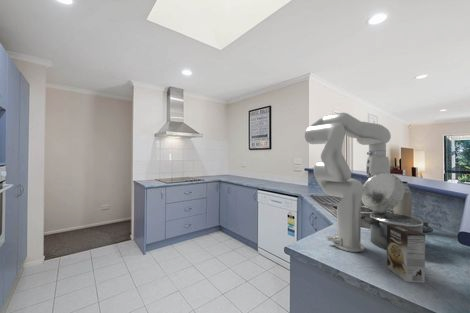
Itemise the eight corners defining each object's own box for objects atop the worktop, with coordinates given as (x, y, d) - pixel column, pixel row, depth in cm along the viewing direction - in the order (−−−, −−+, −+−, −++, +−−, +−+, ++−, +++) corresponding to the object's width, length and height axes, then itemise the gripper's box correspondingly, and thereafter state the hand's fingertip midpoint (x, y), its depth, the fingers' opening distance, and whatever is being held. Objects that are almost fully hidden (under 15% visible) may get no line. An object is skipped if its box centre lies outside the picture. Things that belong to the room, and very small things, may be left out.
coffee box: (385, 267, 74) (385, 224, 74) (403, 267, 74) (403, 224, 74) (406, 282, 65) (405, 233, 65) (426, 283, 65) (426, 233, 65)
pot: (381, 254, 85) (381, 224, 85) (355, 236, 104) (355, 211, 104) (444, 256, 83) (443, 225, 84) (406, 237, 103) (406, 213, 103)
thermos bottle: (412, 229, 115) (412, 181, 116) (409, 232, 110) (409, 182, 111) (395, 226, 121) (395, 180, 122) (391, 228, 116) (391, 181, 117)
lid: (408, 174, 99) (402, 171, 103) (365, 173, 100) (361, 171, 104) (400, 213, 104) (395, 210, 108) (359, 212, 105) (355, 209, 109)
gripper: (367, 154, 103) (368, 189, 103) (397, 153, 103) (397, 189, 103) (359, 154, 111) (359, 187, 111) (386, 153, 110) (386, 186, 110)
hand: (377, 188), depth 107 cm, fingers closed
